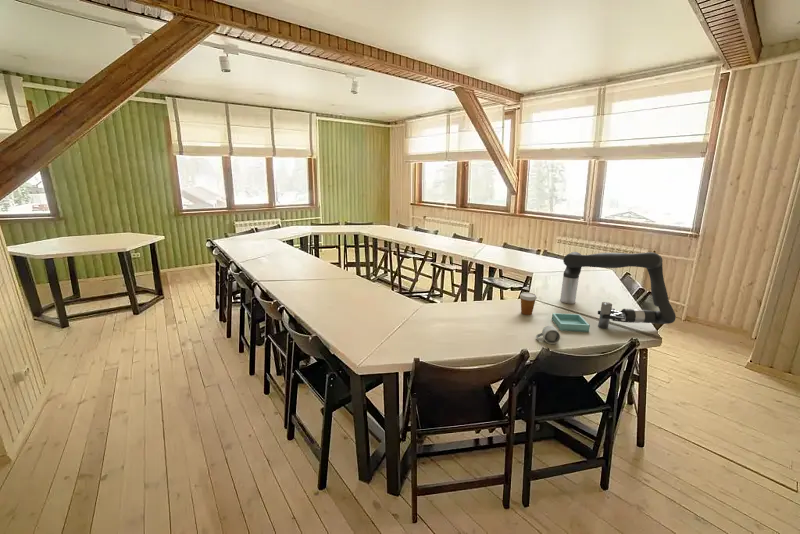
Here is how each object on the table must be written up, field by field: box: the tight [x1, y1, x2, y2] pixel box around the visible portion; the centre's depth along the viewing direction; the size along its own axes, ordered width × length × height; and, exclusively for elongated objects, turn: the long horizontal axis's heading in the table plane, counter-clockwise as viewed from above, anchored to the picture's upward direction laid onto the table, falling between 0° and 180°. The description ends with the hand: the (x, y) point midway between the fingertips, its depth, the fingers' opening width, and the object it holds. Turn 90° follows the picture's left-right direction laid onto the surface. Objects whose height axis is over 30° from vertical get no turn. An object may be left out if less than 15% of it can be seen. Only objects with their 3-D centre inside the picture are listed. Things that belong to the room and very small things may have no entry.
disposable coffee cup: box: [519, 291, 537, 316], centre depth 216 cm, size 10×10×12 cm
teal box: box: [551, 312, 591, 333], centre depth 200 cm, size 15×15×4 cm
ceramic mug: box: [535, 324, 561, 345], centre depth 183 cm, size 11×8×8 cm
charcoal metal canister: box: [597, 301, 613, 330], centre depth 197 cm, size 5×5×14 cm
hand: (600, 314), depth 197 cm, fingers closed on charcoal metal canister, 5 cm apart
